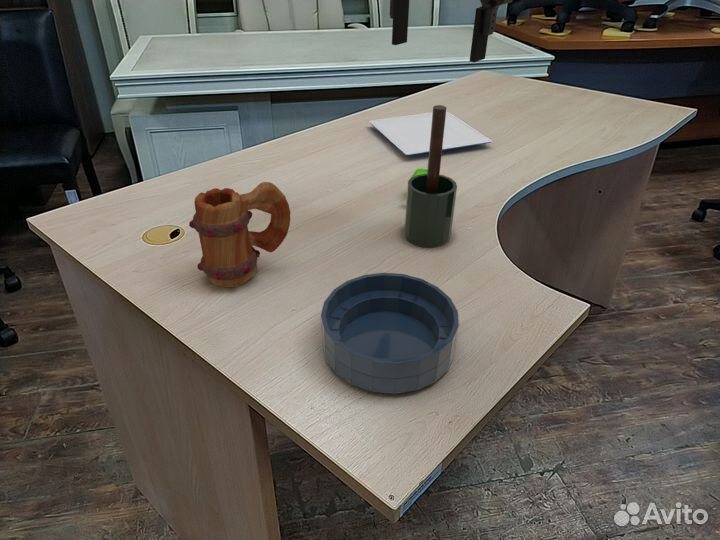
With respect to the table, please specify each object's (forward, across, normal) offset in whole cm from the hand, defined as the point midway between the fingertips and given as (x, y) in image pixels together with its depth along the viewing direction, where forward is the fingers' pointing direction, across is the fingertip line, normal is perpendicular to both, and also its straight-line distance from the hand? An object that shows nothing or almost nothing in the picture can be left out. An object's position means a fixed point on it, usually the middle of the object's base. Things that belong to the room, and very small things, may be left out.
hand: (436, 51), depth 75 cm
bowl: (+31, +14, -26) cm, 42 cm away
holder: (+31, +1, 0) cm, 31 cm away
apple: (+31, -7, +10) cm, 33 cm away
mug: (+31, -12, -28) cm, 44 cm away
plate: (+31, -26, +37) cm, 54 cm away
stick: (+30, +1, 0) cm, 30 cm away
